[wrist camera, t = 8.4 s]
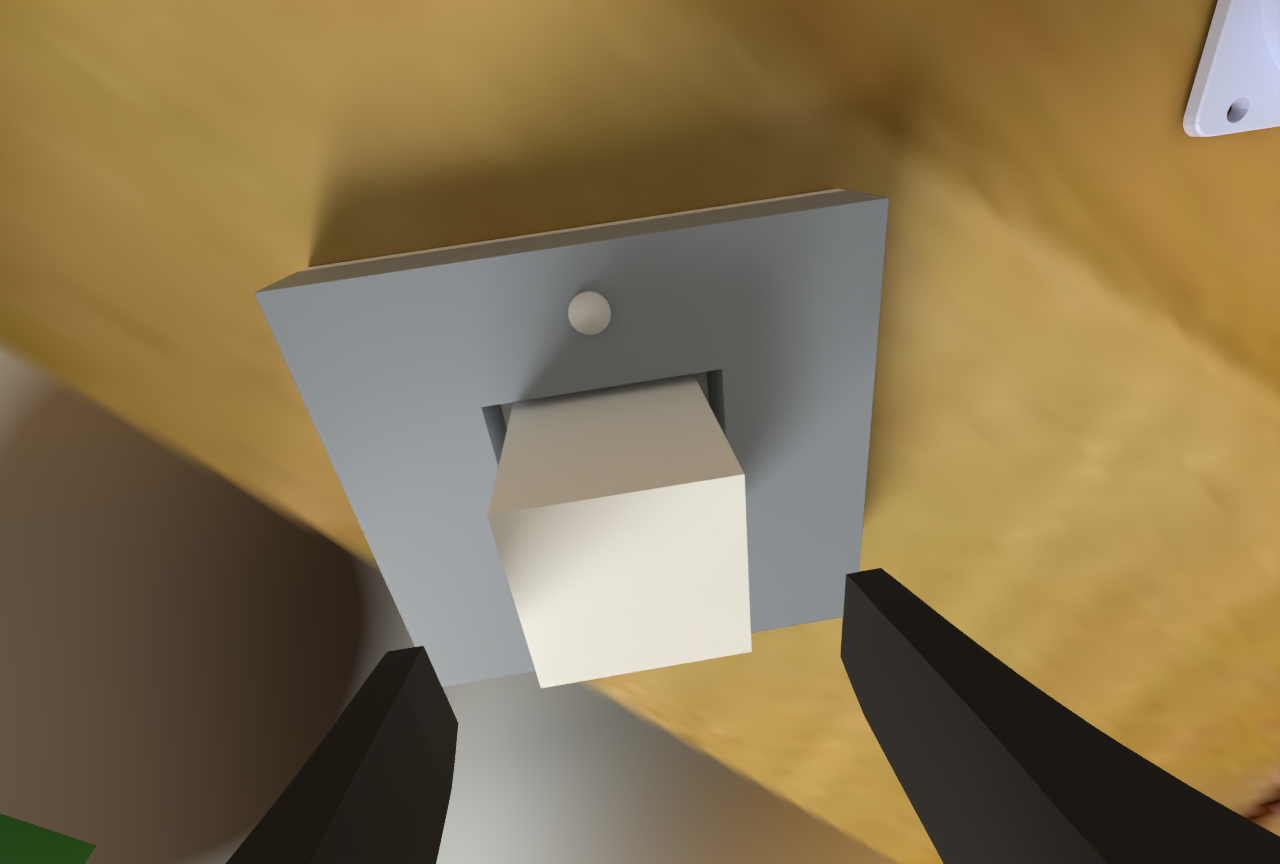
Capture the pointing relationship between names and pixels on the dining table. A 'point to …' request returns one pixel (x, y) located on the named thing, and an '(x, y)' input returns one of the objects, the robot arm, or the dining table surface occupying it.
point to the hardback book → (38, 845)
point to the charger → (622, 530)
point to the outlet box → (591, 359)
